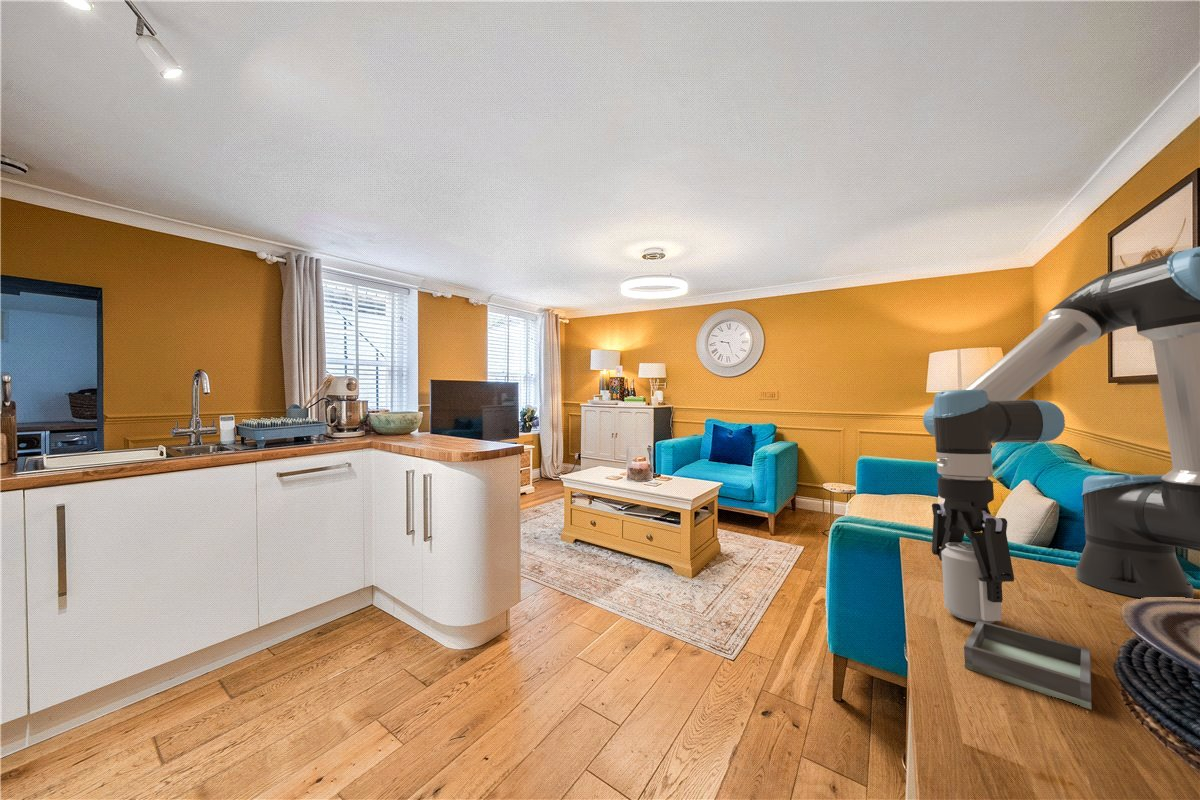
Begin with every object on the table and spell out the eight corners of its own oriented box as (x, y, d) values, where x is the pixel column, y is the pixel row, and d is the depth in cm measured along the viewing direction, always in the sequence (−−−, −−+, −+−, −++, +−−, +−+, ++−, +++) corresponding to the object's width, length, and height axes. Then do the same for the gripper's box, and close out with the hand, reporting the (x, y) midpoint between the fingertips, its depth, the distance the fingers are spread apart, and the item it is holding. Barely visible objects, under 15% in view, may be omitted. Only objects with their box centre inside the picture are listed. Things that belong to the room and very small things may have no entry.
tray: (979, 639, 67) (978, 620, 67) (1091, 671, 59) (1089, 649, 59) (965, 667, 60) (964, 645, 60) (1091, 709, 51) (1090, 683, 51)
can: (963, 624, 71) (959, 551, 72) (934, 605, 79) (931, 539, 79) (1013, 627, 70) (1009, 552, 71) (979, 607, 78) (975, 540, 78)
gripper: (904, 470, 86) (910, 586, 85) (990, 485, 66) (999, 638, 65) (944, 470, 86) (950, 586, 84) (1042, 485, 65) (1052, 639, 64)
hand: (971, 608), depth 75 cm, fingers closed on can, 7 cm apart
